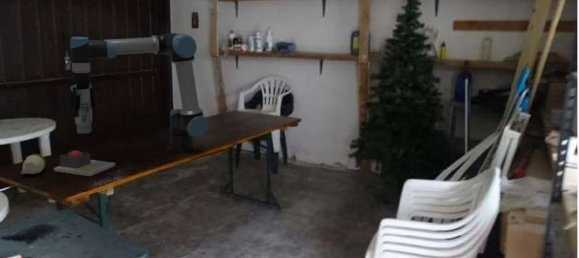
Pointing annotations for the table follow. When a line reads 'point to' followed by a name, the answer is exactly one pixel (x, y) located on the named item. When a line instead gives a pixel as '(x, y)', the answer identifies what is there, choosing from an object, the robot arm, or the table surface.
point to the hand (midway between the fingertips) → (84, 122)
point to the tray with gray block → (82, 165)
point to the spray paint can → (84, 111)
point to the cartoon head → (33, 164)
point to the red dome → (75, 154)
